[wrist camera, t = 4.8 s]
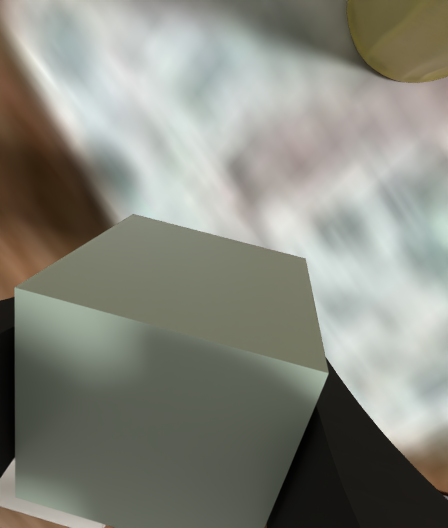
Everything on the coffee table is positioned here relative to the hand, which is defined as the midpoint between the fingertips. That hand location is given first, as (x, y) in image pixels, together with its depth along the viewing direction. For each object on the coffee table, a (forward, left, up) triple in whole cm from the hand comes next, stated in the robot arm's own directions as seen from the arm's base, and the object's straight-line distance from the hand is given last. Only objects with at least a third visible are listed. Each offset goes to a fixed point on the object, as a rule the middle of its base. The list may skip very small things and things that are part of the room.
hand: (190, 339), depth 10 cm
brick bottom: (0, 0, -2) cm, 2 cm away
